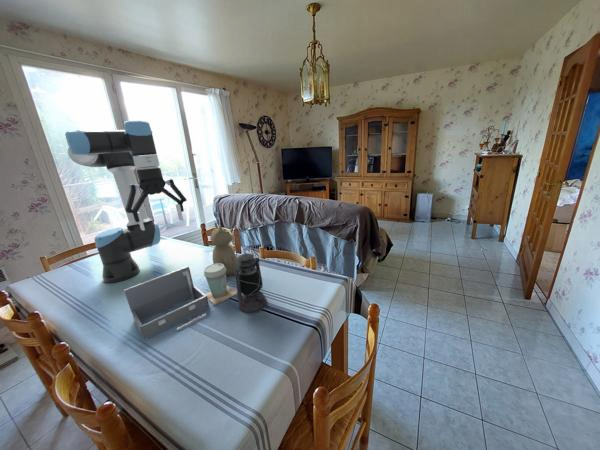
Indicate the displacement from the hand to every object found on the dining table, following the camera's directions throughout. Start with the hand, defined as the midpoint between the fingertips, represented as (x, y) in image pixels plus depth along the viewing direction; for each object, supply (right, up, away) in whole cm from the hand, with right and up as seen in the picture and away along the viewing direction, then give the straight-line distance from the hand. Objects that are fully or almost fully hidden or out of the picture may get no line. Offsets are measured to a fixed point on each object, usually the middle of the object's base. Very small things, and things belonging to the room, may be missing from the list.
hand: (163, 224), depth 94 cm
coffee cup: (+20, -28, +7) cm, 35 cm away
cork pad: (+20, -29, +7) cm, 35 cm away
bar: (+15, -34, -8) cm, 38 cm away
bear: (+20, -23, +26) cm, 40 cm away
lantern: (+35, -30, -1) cm, 46 cm away
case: (+6, -33, -3) cm, 34 cm away
